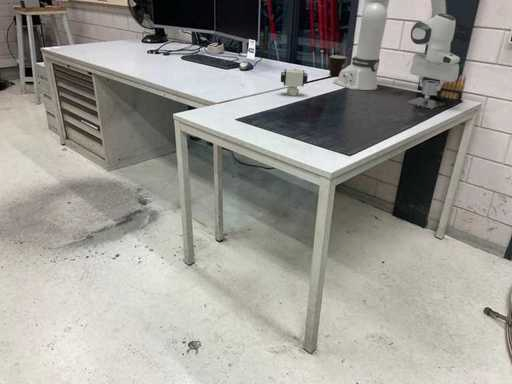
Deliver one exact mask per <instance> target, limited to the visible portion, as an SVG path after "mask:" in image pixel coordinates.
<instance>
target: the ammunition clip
mask: <svg viewBox="0 0 512 384" xmlns="http://www.w3.org/2000/svg"><path fill="white" fill-rule="evenodd" d="M466 78H467V76H466V75H464V76H463V79H462V74H460V75H459V76H458V78H457V80H456V81H454V82H447V81H445V83H444V84H443V85H442V86H441V89H440V90H439V91H438V90H437V94H436V95H435V98H436V97H437V98H442V99H448V100H457V101H460V100H461V101H462V98H463V93H464V89H465V85H466V80H467V79H466ZM437 98H436V99H437ZM442 99H441V100H442ZM448 100H447V101H448Z"/></svg>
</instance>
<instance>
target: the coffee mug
mask: <svg viewBox="0 0 512 384" xmlns="http://www.w3.org/2000/svg"><path fill="white" fill-rule="evenodd" d="M346 59H347V57H346V56H344V55H335V54H334V55H330V56H329V76H330V77H333V78H338V77H339V74H340V72H341V70H343V69H344V67H345V62H346Z"/></svg>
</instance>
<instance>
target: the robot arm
mask: <svg viewBox="0 0 512 384" xmlns="http://www.w3.org/2000/svg"><path fill="white" fill-rule="evenodd" d="M430 3H431V16H432V17H431V18H428V19H425V20H419V21H418V22H416V23H414V24H413V26H412V28H411V29H410V39H411V41H412V42H413V43H414V44H416V45H421V46H423V45H425V46H426V45H427V50H426V53H421V52H417V53H415V54H414V55H413V58H412V63H411V66H410V70H409V72H410V75H413V76H418V81H419V87H421V88H422V86H423V81H424V80H423V79H424V78H428V79H431V80H437V81H438V80H439V85H438V86H436V89H435V90H437V92H438V91H439V90H440V89H441V86H442V85H443V84H444V83H445V81H447V82H448V83H449V82H452V83H453V82H454V81H456V80H457V81H458V79H459V72H460V65H459V62H460V60H461V58H460V57H459V56H458V55H455V54H454V53H452V52H451V43H452V41H453V38H454V35H455V32H456V31H455V30H456V17H454V15H450V14H448V1H447V0H430ZM389 4H390V0H364V3H363V8H362V13H361V21H360V28H359V34H358V41H357V48H356V54H355V56H354V57H350V61H352V62H351V64H349V65H348V66H345V68H344V67H343V70H341V72H340V74H339V77H337V78H336V79H334V80H333V82H332V83H334V84H335V85H338V86H341V87H344V88H347V89H350V90H362V91H365V90H366V91H373V90H376V89H377V90H378V83H377V82H378V70H379V65H380V55H381V49H382V42H383V38H384V34H385V29H386V24H387V20H388V7H389ZM443 86H444V85H443Z"/></svg>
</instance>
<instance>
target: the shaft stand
mask: <svg viewBox="0 0 512 384" xmlns="http://www.w3.org/2000/svg"><path fill="white" fill-rule="evenodd" d="M430 96H431V95H426V94H424V97H421V96H420V97H416V98H413V99H410V100H406V102H405V103H406V104H408V103H409V105H412V104H413V105H412V106H415V105H417V107H419V106H422V107H421V108H423V107H426V108H425V109H427V108H430V109H429V110H431V109H432V110H434V109H433V108H435V107H438V106H440V107H442V106H441V105H443V106H445V105H444V104H446V103H445V102H441V101H436V100H433V99H430ZM438 108H439V107H438ZM435 109H436V108H435Z"/></svg>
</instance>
